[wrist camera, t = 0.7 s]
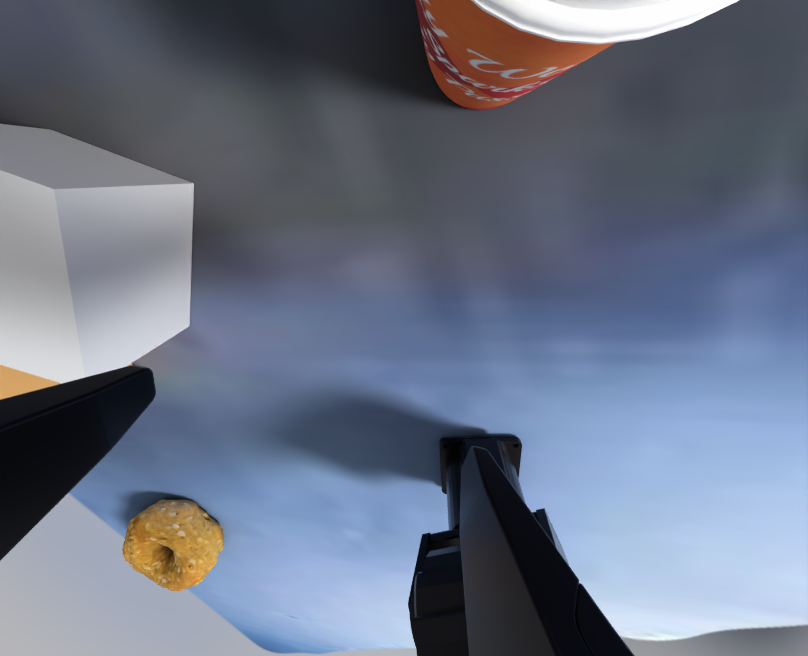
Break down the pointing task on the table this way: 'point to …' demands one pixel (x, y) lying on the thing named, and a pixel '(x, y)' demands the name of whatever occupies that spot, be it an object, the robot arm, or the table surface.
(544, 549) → the robot arm
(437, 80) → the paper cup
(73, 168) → the white block
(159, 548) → the bagel
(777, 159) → the table surface
